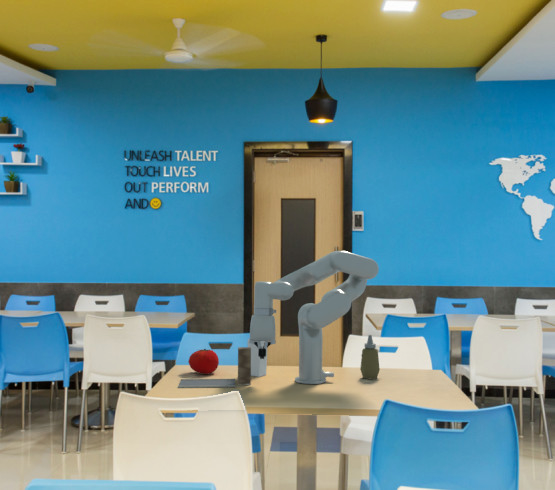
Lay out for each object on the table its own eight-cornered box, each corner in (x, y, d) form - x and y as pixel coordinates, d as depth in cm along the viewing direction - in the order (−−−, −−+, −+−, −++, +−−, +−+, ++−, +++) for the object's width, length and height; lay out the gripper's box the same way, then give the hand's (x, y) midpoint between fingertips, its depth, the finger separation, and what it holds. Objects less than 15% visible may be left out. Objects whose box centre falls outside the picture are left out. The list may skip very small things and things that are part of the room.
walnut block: (250, 382, 235) (250, 347, 235) (250, 384, 230) (250, 349, 230) (237, 382, 234) (238, 347, 235) (237, 384, 229) (238, 349, 230)
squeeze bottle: (358, 379, 243) (358, 335, 243) (362, 375, 250) (362, 333, 251) (377, 380, 240) (377, 336, 240) (381, 377, 247) (381, 334, 248)
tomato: (224, 373, 253) (225, 349, 253) (203, 377, 244) (203, 352, 244) (204, 369, 262) (204, 345, 262) (182, 373, 252) (183, 348, 253)
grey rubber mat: (235, 380, 239) (235, 378, 239) (235, 387, 225) (235, 385, 225) (180, 380, 237) (181, 379, 237) (177, 387, 223) (177, 386, 223)
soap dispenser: (259, 377, 245) (260, 324, 246) (246, 375, 248) (247, 323, 249) (267, 374, 251) (268, 323, 251) (255, 373, 254) (255, 322, 255)
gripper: (281, 312, 238) (279, 357, 237) (244, 311, 237) (243, 356, 236) (282, 313, 230) (281, 360, 230) (244, 312, 229) (243, 359, 229)
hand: (262, 358), depth 233 cm, fingers closed
